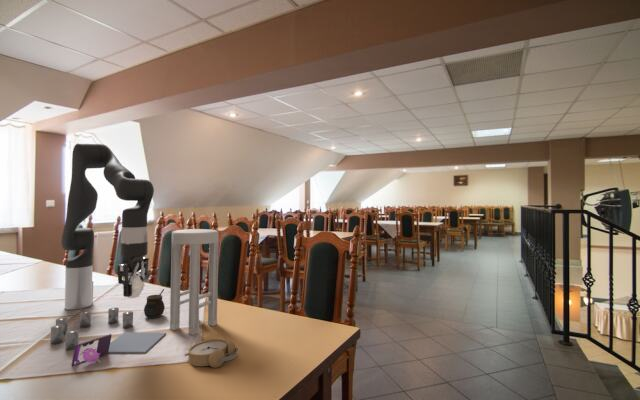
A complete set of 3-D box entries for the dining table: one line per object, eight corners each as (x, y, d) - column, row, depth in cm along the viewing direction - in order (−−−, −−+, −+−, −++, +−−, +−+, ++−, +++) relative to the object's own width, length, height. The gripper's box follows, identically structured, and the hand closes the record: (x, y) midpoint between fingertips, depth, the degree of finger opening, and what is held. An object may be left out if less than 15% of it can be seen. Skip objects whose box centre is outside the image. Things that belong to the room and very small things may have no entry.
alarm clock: (206, 337, 102) (245, 337, 97) (208, 353, 102) (247, 354, 96) (178, 352, 92) (220, 353, 86) (180, 370, 92) (222, 372, 86)
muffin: (137, 299, 100) (137, 277, 100) (117, 299, 100) (118, 276, 100) (148, 294, 106) (148, 272, 106) (130, 293, 106) (130, 272, 106)
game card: (110, 332, 95) (74, 343, 88) (118, 342, 93) (81, 354, 85) (106, 351, 97) (70, 364, 89) (114, 362, 94) (77, 376, 86)
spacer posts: (81, 320, 122) (82, 307, 122) (140, 320, 122) (140, 307, 122) (25, 350, 97) (25, 333, 97) (98, 350, 98) (98, 333, 98)
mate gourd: (139, 318, 125) (139, 292, 125) (155, 312, 132) (155, 287, 132) (153, 321, 122) (153, 294, 122) (168, 314, 130) (169, 289, 130)
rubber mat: (124, 334, 110) (124, 332, 110) (165, 334, 111) (166, 332, 111) (97, 353, 96) (97, 351, 96) (145, 353, 97) (145, 351, 97)
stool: (225, 323, 122) (226, 230, 122) (193, 338, 108) (195, 233, 108) (194, 316, 128) (196, 228, 128) (160, 330, 114) (162, 231, 114)
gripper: (134, 238, 110) (134, 287, 110) (108, 243, 96) (107, 300, 96) (157, 238, 111) (156, 287, 110) (133, 243, 96) (133, 300, 96)
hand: (133, 293), depth 103 cm, fingers closed on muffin, 6 cm apart
